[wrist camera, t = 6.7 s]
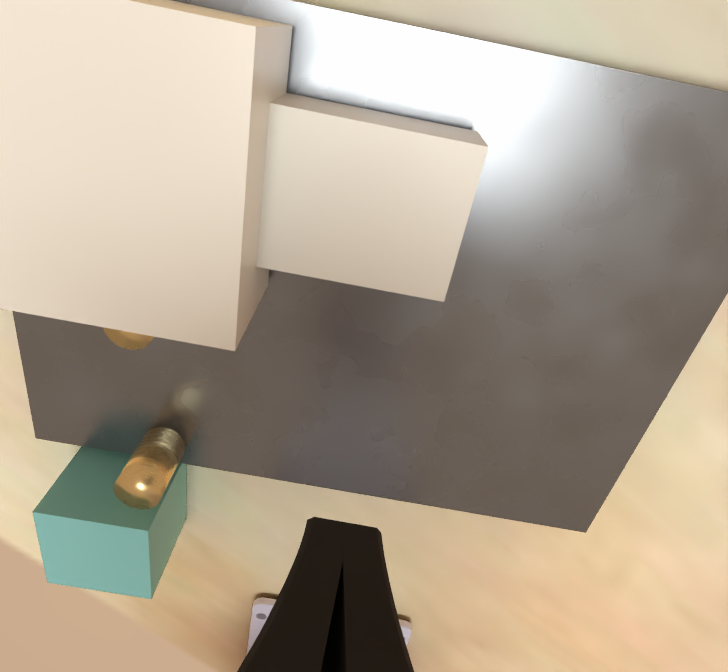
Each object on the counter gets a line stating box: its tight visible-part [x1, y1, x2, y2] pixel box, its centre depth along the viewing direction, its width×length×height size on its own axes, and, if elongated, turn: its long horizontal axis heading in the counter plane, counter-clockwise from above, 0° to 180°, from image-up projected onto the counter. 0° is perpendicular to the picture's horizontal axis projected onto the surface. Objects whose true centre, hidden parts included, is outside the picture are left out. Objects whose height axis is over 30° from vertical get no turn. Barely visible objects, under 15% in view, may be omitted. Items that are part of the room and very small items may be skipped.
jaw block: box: [33, 446, 187, 599], centre depth 21 cm, size 4×4×4 cm
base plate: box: [13, 0, 728, 532], centre depth 16 cm, size 16×22×4 cm
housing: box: [0, 0, 489, 351], centre depth 13 cm, size 7×12×4 cm, turn 80°
